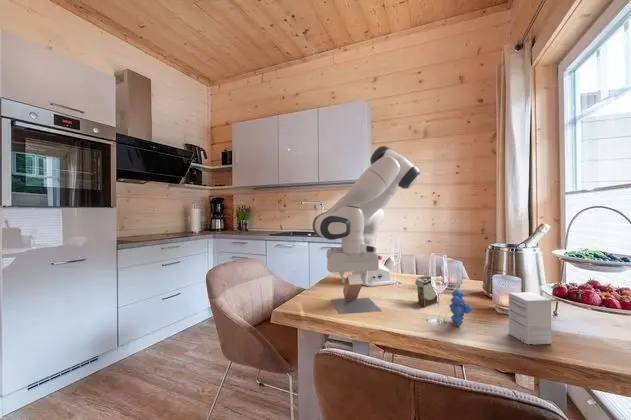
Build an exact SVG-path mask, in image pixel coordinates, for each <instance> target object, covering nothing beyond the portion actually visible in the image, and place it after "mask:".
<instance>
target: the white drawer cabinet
mask: <svg viewBox="0 0 631 420" xmlns="http://www.w3.org/2000/svg"><path fill="white" fill-rule="evenodd" d="M508 334H509V335H511V336H513V337H514V338H515V337H516V339H517V340H519V341H520V340H521V341H520V342H521V343H523V342H524V344H525V343H526V344H525V345H527V344H528V345H527V346H529V344H533V345H550V343H551V344H552V300H551V299H550V298H548V297H545V296H543V295H539V294H537V293H535V292H530V291H526V292H525V291H523V292H508Z"/></svg>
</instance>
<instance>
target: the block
mask: <svg viewBox="0 0 631 420" xmlns="http://www.w3.org/2000/svg"><path fill="white" fill-rule="evenodd" d="M346 279H347V283H344V287H343V289H342V293H343V297H344V298H343V299H345V300H347V299H357V298H359V297H358V296H359V295H360V291H361V289H362V286H363V285H362V284H363V282H362V279H361V275H360V274H356V275H352V274H348V275H347V276H346Z"/></svg>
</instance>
